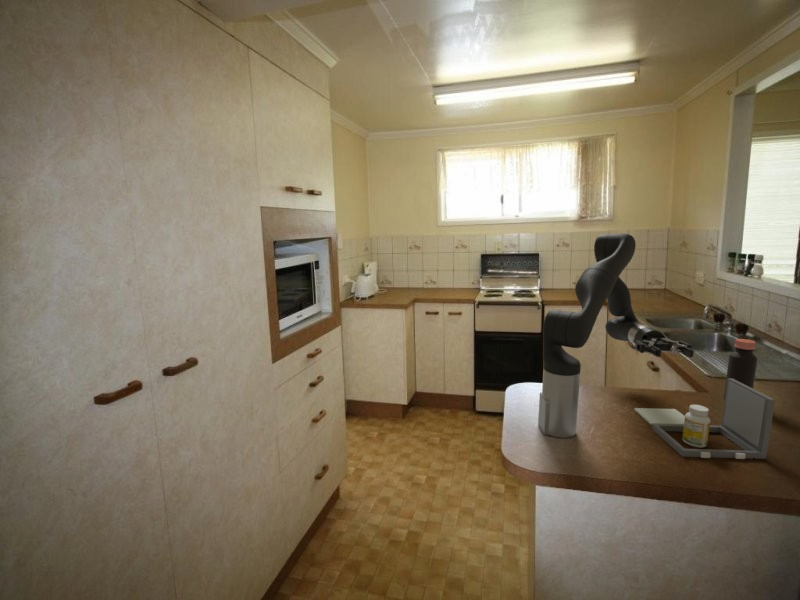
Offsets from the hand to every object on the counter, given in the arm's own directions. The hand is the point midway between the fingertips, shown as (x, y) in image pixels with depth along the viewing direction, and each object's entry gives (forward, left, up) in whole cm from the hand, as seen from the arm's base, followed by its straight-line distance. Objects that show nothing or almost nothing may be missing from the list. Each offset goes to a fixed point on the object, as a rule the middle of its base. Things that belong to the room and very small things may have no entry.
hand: (675, 353), depth 117 cm
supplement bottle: (0, -12, -20) cm, 24 cm away
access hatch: (+2, -12, -20) cm, 23 cm away
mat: (0, +2, -20) cm, 20 cm away
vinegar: (+29, +15, -20) cm, 38 cm away
